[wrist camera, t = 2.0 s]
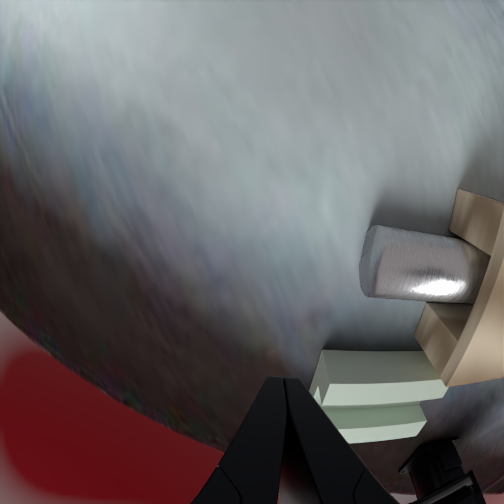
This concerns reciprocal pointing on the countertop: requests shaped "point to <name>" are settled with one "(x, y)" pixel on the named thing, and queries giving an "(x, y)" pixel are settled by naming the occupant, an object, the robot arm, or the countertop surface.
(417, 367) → the v block
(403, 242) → the axle
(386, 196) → the countertop surface
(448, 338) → the wooden bridge block
